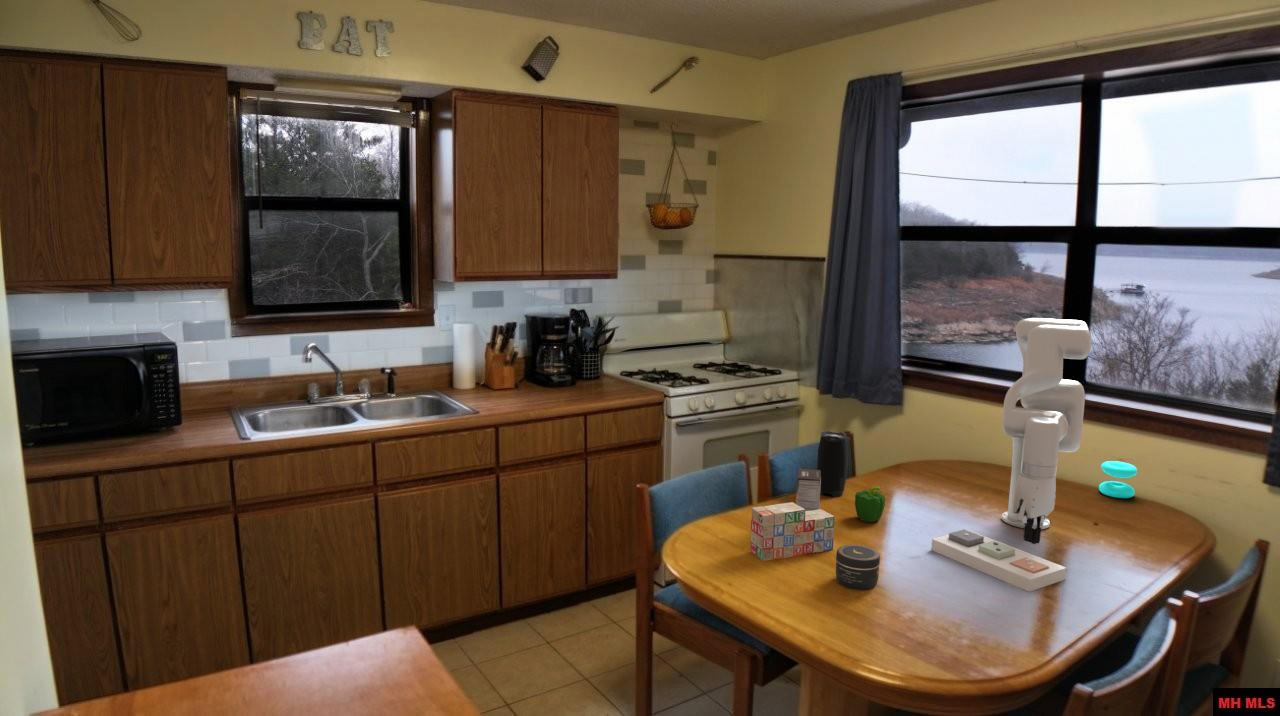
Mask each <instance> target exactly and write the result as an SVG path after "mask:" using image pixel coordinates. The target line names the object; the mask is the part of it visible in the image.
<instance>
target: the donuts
mask: <svg viewBox="0 0 1280 716" xmlns="http://www.w3.org/2000/svg"><path fill="white" fill-rule="evenodd" d="M1100 469H1101V470H1102V472H1104V474H1106V475H1108V476H1111V477H1115V478H1118V479H1119V478H1120V479H1122V478H1123V479H1129V478H1132V477H1133V478H1134V477H1135V476H1136V475H1137V474H1138V469H1137V467H1136V466H1135V465H1133V464H1132V463H1131V464H1130V463H1128V462H1122V461H1116V460H1115V461H1114V460H1110V461H1109V460H1108V461H1104V462H1103V463H1101V466H1100ZM1098 490H1099V491H1100V493H1101V494H1103V495H1104V496H1108V497H1112V498H1116V499H1130V498H1132V497H1134V496H1135V493H1136V491H1135V489H1134V488H1133V486H1131V485H1130V484H1128V483H1125V482H1121V481H1117V480H1116V481H1115V480H1106V481H1103V482H1101V483H1100V484H1099V485H1098Z"/></svg>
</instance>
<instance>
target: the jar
mask: <svg viewBox="0 0 1280 716" xmlns="http://www.w3.org/2000/svg"><path fill="white" fill-rule="evenodd" d="M880 557H881V555H880V553H879V552H878V551H877V550H876V549H874V548H872V547H869V546H865V545H862V544H845V545H841V546H839V547H838V548H837V550H836V556H835V561H836V562H835V577H836V580H837V582H838V583H839V584H840V586H842V587H845V588H848V589H849V590H850V589H851V590H856V591H870V590H872V589H874V588H875V586H876V585H877V583H878V581H879V574H880V572H879V571H880V564H881V562H880V561H881V558H880Z"/></svg>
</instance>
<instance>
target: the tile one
mask: <svg viewBox="0 0 1280 716" xmlns="http://www.w3.org/2000/svg"><path fill="white" fill-rule="evenodd" d="M967 530H968V529H965V528H964V529H960V530H957V531H953V532H949V533H948V535H949V540H952V541H954V542H957V543H959V544H962V545H964V546H966V547H971V546H975V545H978V544H982V543H983V542H984V537H983V536H984V535H983V536H980V535H981V534H980V535H978V534H979V533H977V534H975V533H976V532H975V533H972V532H973V531H972V532H970V531H971V530H969V531H967Z"/></svg>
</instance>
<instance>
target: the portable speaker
mask: <svg viewBox="0 0 1280 716" xmlns="http://www.w3.org/2000/svg"><path fill="white" fill-rule="evenodd" d="M816 461H817V463H816V470H820V471H821V486H820V496H821V495H824V494H828V495H830V496H832V498H833V497H834V498H837V497H841V496H843V494H844V492H845V488H846V487H845V486H846V481H847V474H848V464H849V462H848V461H849V449H848V441H847V433H845V432H841V431H839V432H835V431H834V432H833V431H830V430H824V431H822V432H821V436H820V439H819V444H818V449H817V460H816Z"/></svg>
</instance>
